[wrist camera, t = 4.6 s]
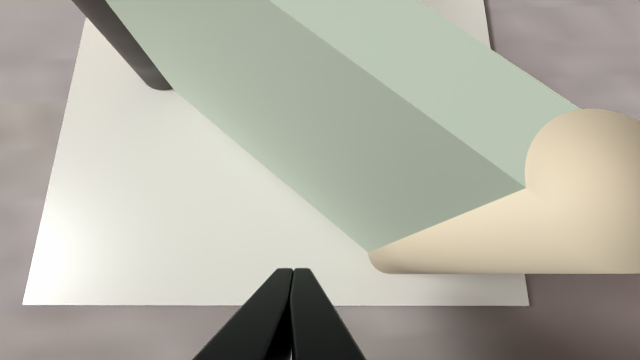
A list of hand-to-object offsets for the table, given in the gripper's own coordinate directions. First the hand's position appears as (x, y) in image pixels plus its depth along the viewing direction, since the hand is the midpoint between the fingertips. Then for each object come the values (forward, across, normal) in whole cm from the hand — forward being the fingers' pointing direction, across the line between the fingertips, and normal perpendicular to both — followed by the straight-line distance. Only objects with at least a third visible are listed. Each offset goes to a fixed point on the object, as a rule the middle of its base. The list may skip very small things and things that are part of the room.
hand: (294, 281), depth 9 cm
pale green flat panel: (+7, -1, -1) cm, 8 cm away
